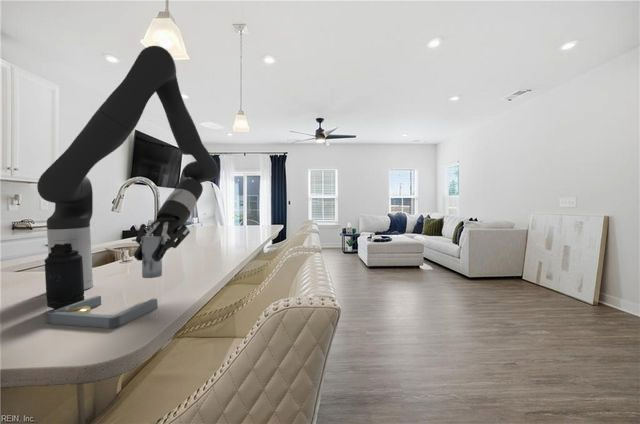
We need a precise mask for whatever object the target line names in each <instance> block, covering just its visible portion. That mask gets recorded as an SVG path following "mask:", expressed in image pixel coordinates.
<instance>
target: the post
mask: <svg viewBox="0 0 640 424" xmlns="http://www.w3.org/2000/svg"><path fill="white" fill-rule="evenodd" d="M141 239H142V260H141V275H142V276H141V277H142V278H143V279H154V278H160V277H161V276H163V258H162V259H160V261H159V262H156V261H154V259H153V258H152V255H153V254H154V252H155V250H156V249H157V247H158V246H159V245H161V240H162V236H160V235H153V234H152V235H150V236H142V237H141Z"/></svg>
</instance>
